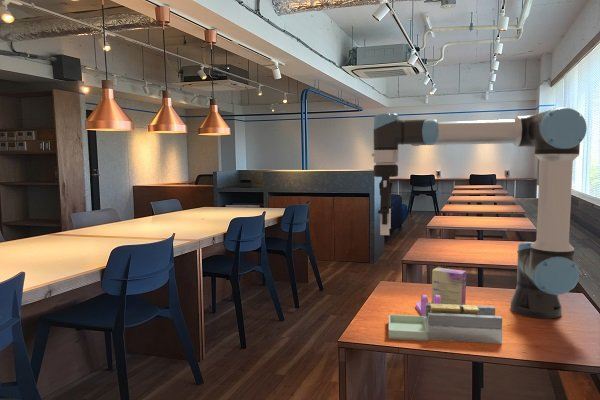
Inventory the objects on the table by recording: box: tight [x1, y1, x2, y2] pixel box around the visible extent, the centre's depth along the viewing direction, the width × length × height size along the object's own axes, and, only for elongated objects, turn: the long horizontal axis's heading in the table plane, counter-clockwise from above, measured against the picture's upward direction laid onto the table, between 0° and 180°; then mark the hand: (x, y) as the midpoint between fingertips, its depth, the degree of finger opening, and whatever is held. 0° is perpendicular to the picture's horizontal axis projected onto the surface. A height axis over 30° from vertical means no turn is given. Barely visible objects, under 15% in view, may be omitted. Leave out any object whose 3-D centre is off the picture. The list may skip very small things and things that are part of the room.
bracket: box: [415, 294, 441, 317], centre depth 161 cm, size 13×6×7 cm, turn 0°
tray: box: [388, 313, 430, 342], centre depth 143 cm, size 11×14×2 cm
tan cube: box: [444, 304, 460, 314], centre depth 140 cm, size 4×4×4 cm
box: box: [431, 267, 467, 305], centre depth 169 cm, size 10×6×12 cm, turn 58°
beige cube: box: [462, 304, 479, 315], centre depth 139 cm, size 4×4×4 cm
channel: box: [426, 302, 503, 345], centre depth 140 cm, size 20×12×7 cm, turn 80°
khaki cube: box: [430, 303, 446, 313], centre depth 141 cm, size 4×4×4 cm
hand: (385, 231), depth 153 cm, fingers open, 13 cm apart
